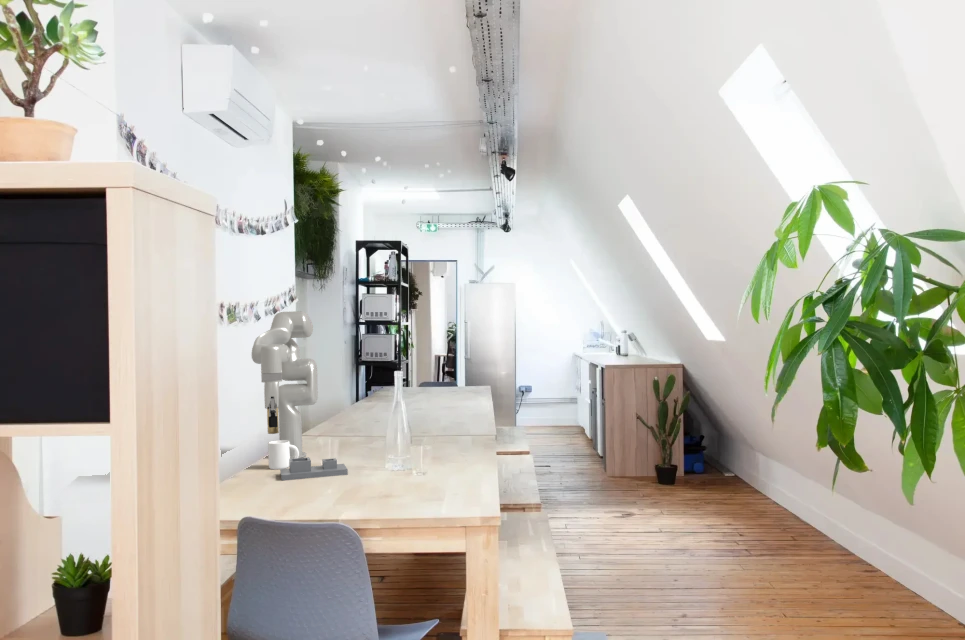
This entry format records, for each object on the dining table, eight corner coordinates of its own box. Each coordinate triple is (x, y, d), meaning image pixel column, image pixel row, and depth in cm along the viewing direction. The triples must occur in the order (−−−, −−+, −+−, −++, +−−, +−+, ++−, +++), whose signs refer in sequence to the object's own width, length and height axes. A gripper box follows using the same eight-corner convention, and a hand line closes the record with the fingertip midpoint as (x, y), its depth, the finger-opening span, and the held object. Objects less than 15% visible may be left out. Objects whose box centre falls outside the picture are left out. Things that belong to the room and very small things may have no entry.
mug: (301, 464, 297) (300, 439, 297) (297, 468, 288) (296, 442, 289) (271, 466, 296) (270, 440, 296) (266, 470, 288) (265, 444, 288)
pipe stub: (267, 432, 276) (266, 401, 276) (278, 431, 277) (277, 400, 277) (267, 434, 272) (266, 402, 272) (278, 433, 273) (277, 401, 273)
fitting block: (280, 474, 278) (280, 458, 278) (343, 468, 286) (343, 453, 286) (281, 480, 267) (281, 464, 267) (347, 474, 274) (347, 458, 274)
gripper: (261, 377, 281) (262, 424, 281) (261, 380, 265) (262, 430, 265) (281, 376, 284) (282, 422, 284) (282, 378, 268) (284, 428, 267)
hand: (273, 425), depth 274 cm, fingers closed on pipe stub, 4 cm apart
